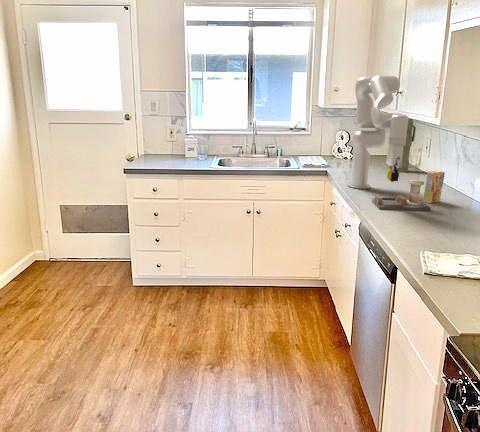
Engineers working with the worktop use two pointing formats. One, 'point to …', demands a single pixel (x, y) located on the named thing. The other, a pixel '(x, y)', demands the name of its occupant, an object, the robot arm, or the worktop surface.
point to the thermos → (407, 146)
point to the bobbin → (414, 192)
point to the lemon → (390, 173)
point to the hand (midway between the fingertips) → (392, 179)
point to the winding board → (397, 204)
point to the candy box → (433, 186)
